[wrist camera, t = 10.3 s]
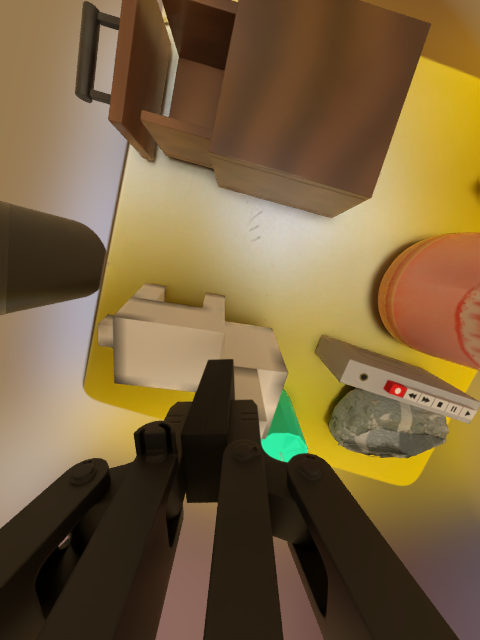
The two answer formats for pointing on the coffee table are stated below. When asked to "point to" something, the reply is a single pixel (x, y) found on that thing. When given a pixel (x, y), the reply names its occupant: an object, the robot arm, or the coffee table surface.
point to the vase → (436, 298)
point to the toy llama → (192, 348)
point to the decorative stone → (385, 426)
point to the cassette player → (395, 380)
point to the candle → (284, 432)
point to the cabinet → (312, 100)
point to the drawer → (161, 72)
